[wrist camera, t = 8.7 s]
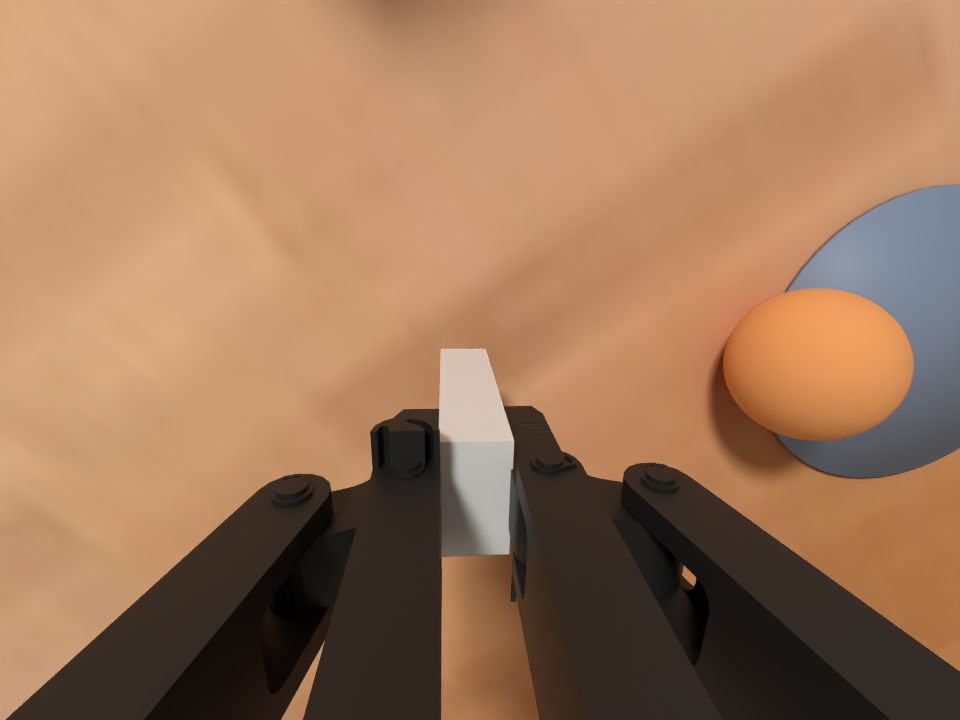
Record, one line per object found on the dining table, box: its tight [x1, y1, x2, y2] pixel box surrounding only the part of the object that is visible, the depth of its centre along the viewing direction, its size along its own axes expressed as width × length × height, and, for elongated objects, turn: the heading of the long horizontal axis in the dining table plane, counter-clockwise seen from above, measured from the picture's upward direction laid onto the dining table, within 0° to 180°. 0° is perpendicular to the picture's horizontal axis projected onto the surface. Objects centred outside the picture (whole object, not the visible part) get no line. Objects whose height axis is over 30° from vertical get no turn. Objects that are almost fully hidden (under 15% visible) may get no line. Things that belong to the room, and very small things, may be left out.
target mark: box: [774, 185, 960, 478], centre depth 19 cm, size 13×13×1 cm
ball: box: [723, 288, 914, 441], centre depth 16 cm, size 6×6×6 cm
